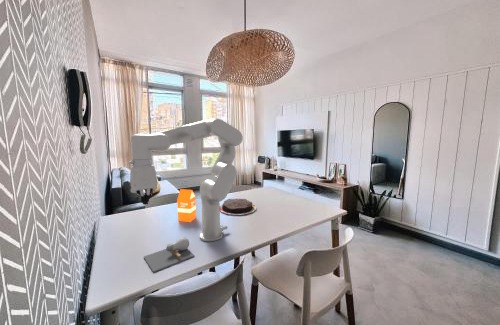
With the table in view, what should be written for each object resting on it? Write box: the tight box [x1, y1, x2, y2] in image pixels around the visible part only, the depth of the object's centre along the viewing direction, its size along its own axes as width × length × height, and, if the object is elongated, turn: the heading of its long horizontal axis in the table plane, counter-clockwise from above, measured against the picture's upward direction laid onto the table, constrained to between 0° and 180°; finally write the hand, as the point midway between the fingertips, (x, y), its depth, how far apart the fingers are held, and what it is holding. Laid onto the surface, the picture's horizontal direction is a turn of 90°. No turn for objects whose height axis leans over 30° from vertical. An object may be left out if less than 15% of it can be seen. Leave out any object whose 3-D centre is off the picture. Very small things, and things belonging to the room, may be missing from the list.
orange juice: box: [176, 188, 197, 223], centre depth 140 cm, size 8×9×20 cm
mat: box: [143, 248, 195, 274], centre depth 98 cm, size 18×14×1 cm
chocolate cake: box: [220, 198, 257, 216], centre depth 161 cm, size 28×28×7 cm
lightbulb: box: [165, 236, 190, 251], centre depth 102 cm, size 6×6×11 cm
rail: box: [167, 243, 181, 260], centre depth 101 cm, size 1×13×2 cm, turn 41°
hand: (145, 203), depth 96 cm, fingers closed
